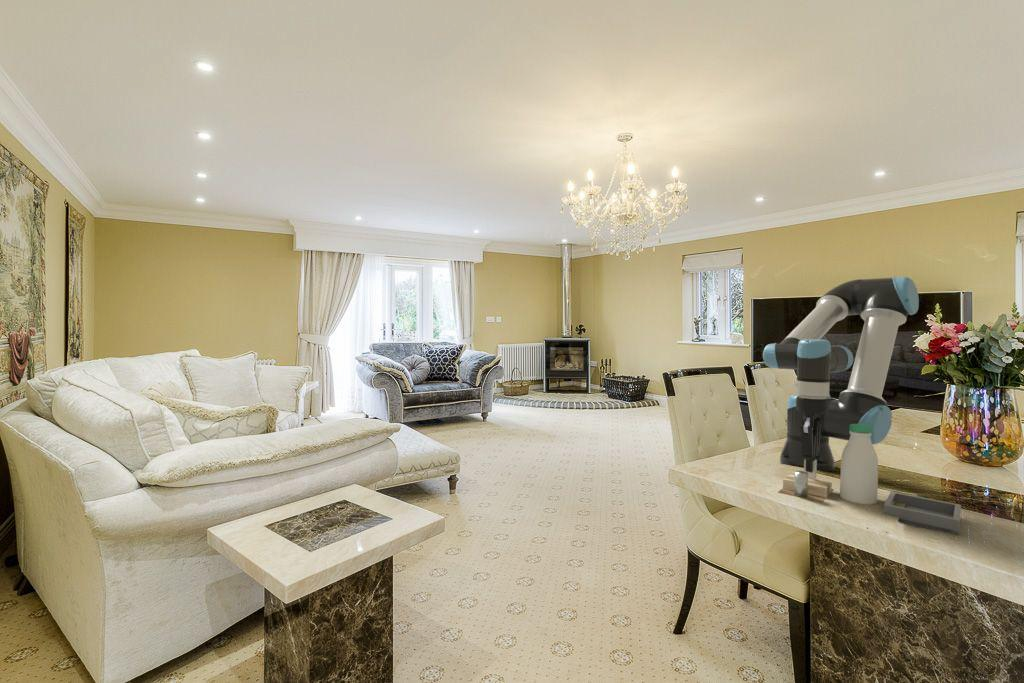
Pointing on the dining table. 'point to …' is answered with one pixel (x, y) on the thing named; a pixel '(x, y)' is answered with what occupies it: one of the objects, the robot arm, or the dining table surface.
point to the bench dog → (801, 484)
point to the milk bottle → (859, 467)
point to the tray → (925, 512)
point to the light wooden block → (810, 486)
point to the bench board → (810, 497)
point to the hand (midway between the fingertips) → (809, 482)
